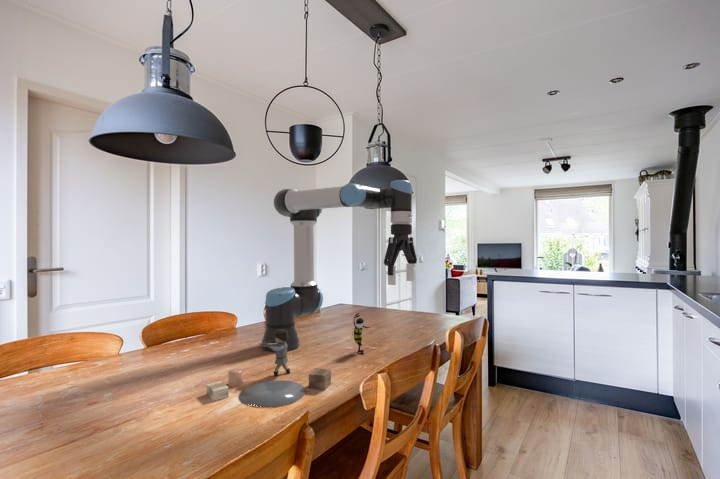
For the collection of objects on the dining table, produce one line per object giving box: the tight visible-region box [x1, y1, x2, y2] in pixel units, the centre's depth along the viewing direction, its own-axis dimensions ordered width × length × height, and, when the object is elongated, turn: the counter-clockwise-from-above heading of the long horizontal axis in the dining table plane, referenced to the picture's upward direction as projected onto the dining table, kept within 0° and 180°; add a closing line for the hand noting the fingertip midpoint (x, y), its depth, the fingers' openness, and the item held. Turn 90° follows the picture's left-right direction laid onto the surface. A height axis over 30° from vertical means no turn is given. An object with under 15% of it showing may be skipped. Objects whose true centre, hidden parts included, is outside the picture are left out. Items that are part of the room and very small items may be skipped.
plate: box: [238, 379, 306, 408], centre depth 104 cm, size 18×18×1 cm
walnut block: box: [308, 368, 332, 391], centre depth 109 cm, size 5×5×5 cm
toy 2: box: [351, 312, 371, 355], centre depth 144 cm, size 7×8×15 cm
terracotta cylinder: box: [227, 368, 244, 388], centre depth 110 cm, size 4×4×5 cm
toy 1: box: [258, 329, 291, 377], centre depth 118 cm, size 8×10×15 cm
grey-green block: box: [205, 380, 230, 402], centre depth 102 cm, size 6×4×4 cm, turn 40°
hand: (401, 282), depth 133 cm, fingers open, 13 cm apart
